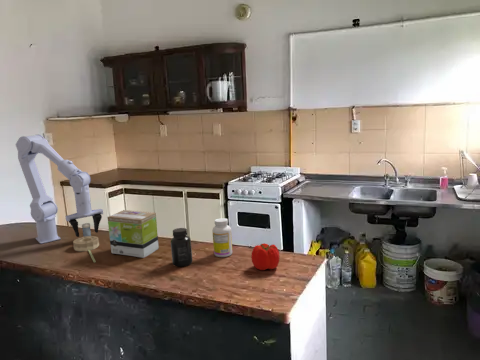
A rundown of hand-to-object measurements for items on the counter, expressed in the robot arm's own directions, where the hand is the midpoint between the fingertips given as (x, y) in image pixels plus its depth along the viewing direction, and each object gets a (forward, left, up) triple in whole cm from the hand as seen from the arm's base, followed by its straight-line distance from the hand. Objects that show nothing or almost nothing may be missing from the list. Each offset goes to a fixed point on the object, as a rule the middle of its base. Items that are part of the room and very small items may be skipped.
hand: (87, 234), depth 168 cm
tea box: (+27, +9, -3) cm, 29 cm away
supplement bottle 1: (+50, +16, -3) cm, 53 cm away
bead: (+8, -3, -3) cm, 9 cm away
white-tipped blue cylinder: (0, 0, -3) cm, 3 cm away
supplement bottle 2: (+53, +31, -3) cm, 61 cm away
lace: (+20, -5, -3) cm, 21 cm away
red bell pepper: (+73, +34, -3) cm, 81 cm away
